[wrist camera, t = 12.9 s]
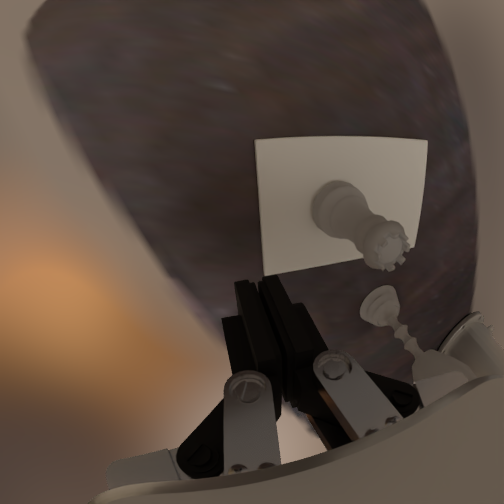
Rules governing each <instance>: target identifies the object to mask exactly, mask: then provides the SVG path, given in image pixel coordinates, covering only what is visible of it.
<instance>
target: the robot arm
mask: <svg viewBox="0 0 504 504" xmlns="http://www.w3.org/2000/svg"><path fill="white" fill-rule="evenodd" d="M234 285H235V293H236V300H237V307H238V315H237V316H231V317H226V318H221V319H222V324H223V330H224V335H225V340H226V345H227V350H228V355H229V360H230V365H231V370H232V376H231V377H230V378H229V379H228V380H227V382H226V383H225V386H224V398H223V399H222V400H221V402H220V403H219V404H218V405H217V406H216V407H215V408H214V409H213V410H212V412H211V413H210V414H209V415H208V416H207V417H206V418H205V419H204V420H203V421H202V423H201V424H200V425H199V426H198V427H197V428H196V429H195V430H194V431H193V432H192V433H191V434H190V435H189V436H188V438H187V439H186V440H185V441H184V442H183V443H182V444H181V445H180V447H178V448H175V449H172V450H168V449H163V450H160V451H156V452H152V453H148V454H144V455H139V456H135V457H130V458H126V459H120V460H117V461H114V462H112V463H111V464H110V465H109V466H108V468H107V470H106V480H107V484H108V488H109V490H108V491H106V492H103V493H101V494H99V495H97V496H95V497H94V498H93V499H91V500H90V501H89V502H88V504H504V349H503V348H502V347H501V346H500V345H499V343H498V342H497V341H496V340H495V339H494V338H493V334H492V331H493V330H494V327H493V326H492V325H490V326H489V327H486V326H485V325H484V324H483V321H484V316H483V315H482V314H481V313H480V312H473V313H471V314H470V315H468V316H467V317H465V318H464V319H463V320H462V321H461V322H460V323H459V324H458V325H457V326H456V327H455V328H454V329H453V330H452V331H451V332H450V334H449V335H448V336H447V337H446V339H445V340H444V342H443V343H442V345H441V346H440V348H439V350H438V352H441V353H443V354H446V355H449V356H451V357H454V358H455V359H457V360H459V361H461V362H462V363H464V364H466V365H468V366H469V367H470V369H471V370H472V371H473V373H474V374H475V375H476V376H477V378H476V379H474V380H471V381H468V379H467V378H466V376H465V375H464V374H462V373H461V372H457V371H453V372H449V373H445V374H442V375H438V376H434V377H431V378H427V379H423V380H419V381H415V382H414V384H411V385H410V384H408V383H405V382H401V381H398V380H394V379H391V378H387V377H384V376H381V375H377V374H374V373H371V372H368V371H364V370H363V369H362V368H361V366H360V365H359V364H358V363H357V362H356V360H355V359H354V358H353V357H352V356H351V355H350V354H348V353H346V352H344V351H341V350H328V348H327V346H326V344H325V342H324V340H323V338H322V337H321V335H320V333H319V331H318V329H317V328H316V326H315V324H314V322H313V320H312V318H311V317H310V315H309V313H308V311H307V309H306V308H305V306H304V304H303V303H296V304H292V303H291V301H290V299H289V297H288V295H287V293H286V291H285V289H284V287H283V285H282V284H281V282H280V280H279V278H278V276H277V275H276V274H275V275H270V276H265V277H262V281H258V291H257V288H256V285H255V283H254V282H252V283H249V280H242V281H237V282H234ZM258 292H259V293H258ZM282 395H283V398H284V400H285V402H288V401H290V403H291V405H292V408H294V407H297V408H298V411H301V412H303V413H306V416H307V418H308V420H309V422H310V423H311V425H312V427H313V428H314V430H315V431H316V433H317V435H318V436H319V438H320V440H321V441H322V443H323V444H324V446H325V448H326V449H327V451H326V452H324V453H320V454H318V455H314V456H311V457H308V458H304V459H301V460H298V461H294V462H290V463H286V464H283V465H281V458H280V451H279V442H278V435H277V426H276V422H277V420H278V419H279V417H280V416H281V403H282Z"/></svg>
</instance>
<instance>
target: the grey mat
mask: <svg viewBox="0 0 504 504" xmlns="http://www.w3.org/2000/svg"><path fill="white" fill-rule="evenodd" d="M254 144H255V157H256V171H257V185H258V199H259V213H260V227H261V242H262V257H263V273H264V275H265V276H268V275H273V274H279V273H285V272H290V271H296V270H301V269H307V268H312V267H318V266H323V265H328V264H334V263H339V262H344V261H349V260H354V259H359V258H364V257H363V254H361V253H360V252H359V251H358V250H357V249H356V247H355V244H354V243H353V242H352V241H350V240H348V239H339V238H333V237H330V236H329V235H327V234H326V233H324V232H323V231H322V230H321V229H319V228H318V227H317V225H316V223H315V221H314V220H313V210H312V208H313V205H314V201H315V198H316V196H317V195H318V194H319V193H320V191H321V190H322V189H323V188H324V187H326V186H327V185H329V184H330V183H332V182H338V181H344V182H347V183H351V184H352V185H353V186H354V187H356V188H357V189H358V190H360V191H361V192H362V193H363V195H364V196H365V198H366V201H367V204H368V207H369V209H370V210H371V211H372V212H373V213H374V214H375V215H376V214H377V215H381V216H383V217H384V218H385V219H386V220H387V221H390V220H393V221H396V222H399V223H400V224H401V225H402V226H403V228H404V231H405V235H406V236H407V237H408V238H409V239H408V240H407V241H406V242H407V243H409V244H410V248H413V247H414V246H415V241H416V236H417V230H418V225H419V219H420V213H421V206H422V199H423V191H424V182H425V172H426V161H427V145H428V141H427V140H420V139H409V138H395V137H376V136H302V137H282V138H267V139H255V140H254Z"/></svg>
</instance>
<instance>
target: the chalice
mask: <svg viewBox="0 0 504 504" xmlns="http://www.w3.org/2000/svg"><path fill="white" fill-rule="evenodd" d="M399 311H400V304H399V302H398V297H397V295H396V290H395V289H394V288H393V286H389V285H385V286H381V287H378V288H376V289H375V290H373V291H372V292H371V293H370V294H369V295H368V296H367V297H366V298H365V300H364V301H363V303H362V305H361V308H360V316H361V318H362V319H363V320H365V321H368V322H369V323H371V324H374V325H375V326H380V327H383V326H387V325H390V326H391V327H393V329H394V332H395V334H394V337H395V338H400V339H401V340H403V343H404V349H405V350H409V351H410V352H411V353H412V354H413V355H414V357H415V362H414V363H413V365H412V374H413V383H414V382H415V381H419V380H423V379H427V378H431V377H434V376H438V375H442V374H445V373H449V372H453V371H457V372H461V373H462V374H464V375H465V376H466V378H467V379H468V381H471V380H474V379H476V378H477V376H476V375H475V374H474V373H473V371H472V370H471V369H470V367H469V366H468V365H466V364H464V363H462V362H461V361H459V360H457V359H455V358H454V357H451V356H449V355H446V354H443V353H441V352H438V351H435V350H432V349H430V350H428V351H426V352H423V351H422V350H421V349H420V348H419V346H418V344H417V339H416V338H414V337H411V336H410V335H409V334H408V331H407V329H408V326H407V325H402V324H401V323H399V322H398V320H397V316H398V314H399Z"/></svg>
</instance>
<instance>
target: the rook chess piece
mask: <svg viewBox="0 0 504 504" xmlns="http://www.w3.org/2000/svg"><path fill="white" fill-rule="evenodd" d="M312 210H313V220H314V221H315V223H316V225H317V227H318V228H319V229H321V230H322V231H323V232H324V233H326V234H327V235H329V236H330V237H333V238H339V239H348V240H350V241H352V242H353V243H354V244H355V247H356V249H357V250H358V251H359V252H360V253H361V254H363V257H364V260H365V263H366V264H367V265H368V266H369V267H371V268H374V269H381V270H382V271H384V269H386V270H387V271H388V272H390V271H393V270H395V266H394V265H393V264H395V263H396V262H398V263H399V264H400V265H402V264H403V262H404V261H405V260H406V259H405V258H404V257H403V256H402V254H403V252H404V251H405V252H409V251H410V244H409V243H407V242H406V241H407V240H408V239H409V238H408V237H407V236H406V235H405V231H404V228H403V226H402V225H401V224H400V223H399V222H396V221H393V220H390V221H387V220H386V219H385V218H384V217H383V216H381V215H377V214H376V215H375V214H374V213H373V212H372V211H371V210H370V209H369V207H368V204H367V201H366V198H365V196H364V195H363V193H362V192H361V191H360V190H358V189H357V188H356V187H354V186H353V185H352V184H351V183H347V182H344V181H338V182H332V183H330V184H329V185H327V186H326V187H324V188H323V189H322V190H321V191H320V193H319V194H318V195H317V196H316V198H315V201H314V205H313V208H312Z"/></svg>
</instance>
